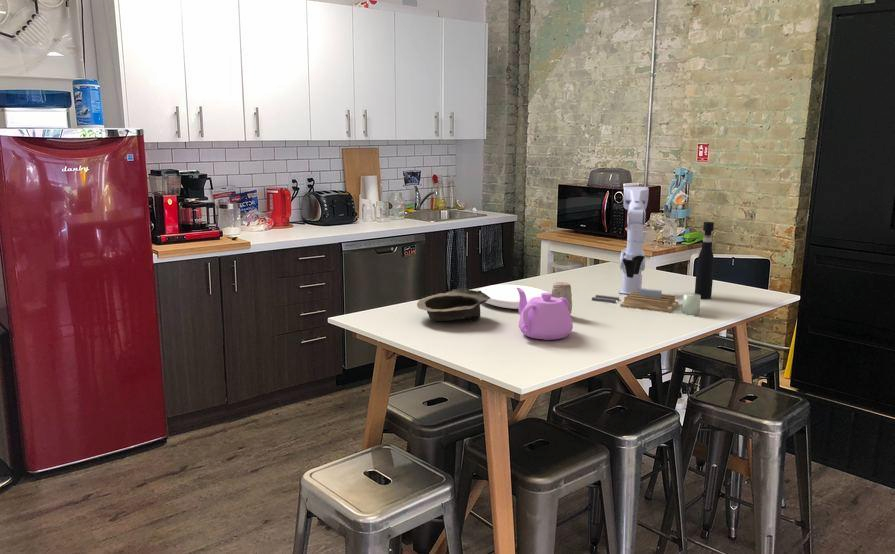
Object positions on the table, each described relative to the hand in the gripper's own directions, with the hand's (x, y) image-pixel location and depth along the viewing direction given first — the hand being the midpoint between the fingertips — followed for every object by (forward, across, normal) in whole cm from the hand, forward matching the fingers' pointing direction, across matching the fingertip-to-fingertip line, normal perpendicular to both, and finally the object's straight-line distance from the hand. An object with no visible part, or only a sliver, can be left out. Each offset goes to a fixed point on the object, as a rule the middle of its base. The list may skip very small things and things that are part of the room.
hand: (632, 275), depth 278 cm
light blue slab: (+9, +4, +8) cm, 13 cm away
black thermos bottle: (+10, -21, +23) cm, 33 cm away
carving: (+10, +37, -15) cm, 41 cm away
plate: (+10, +28, -37) cm, 48 cm away
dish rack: (+10, +4, +8) cm, 13 cm away
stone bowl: (+10, +61, -46) cm, 77 cm away
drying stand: (+10, +4, -9) cm, 14 cm away
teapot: (+10, +62, -13) cm, 64 cm away
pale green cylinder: (+10, +9, +24) cm, 28 cm away
